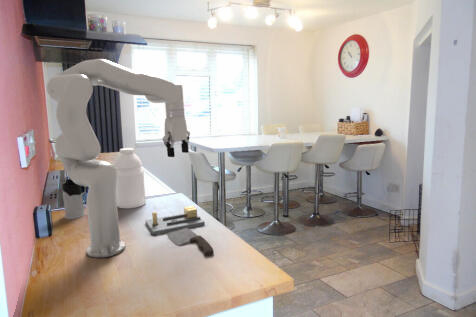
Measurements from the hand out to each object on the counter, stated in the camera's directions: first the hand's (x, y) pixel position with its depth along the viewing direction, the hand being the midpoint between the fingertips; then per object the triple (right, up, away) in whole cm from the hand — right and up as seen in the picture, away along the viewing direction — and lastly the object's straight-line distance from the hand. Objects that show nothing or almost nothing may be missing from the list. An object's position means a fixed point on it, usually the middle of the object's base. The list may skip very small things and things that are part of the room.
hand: (178, 154), depth 148 cm
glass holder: (-47, -27, +13) cm, 56 cm away
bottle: (-28, -25, +26) cm, 45 cm away
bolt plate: (-1, -29, -3) cm, 29 cm away
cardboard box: (+5, -26, -1) cm, 27 cm away
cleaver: (+7, -33, -21) cm, 39 cm away
